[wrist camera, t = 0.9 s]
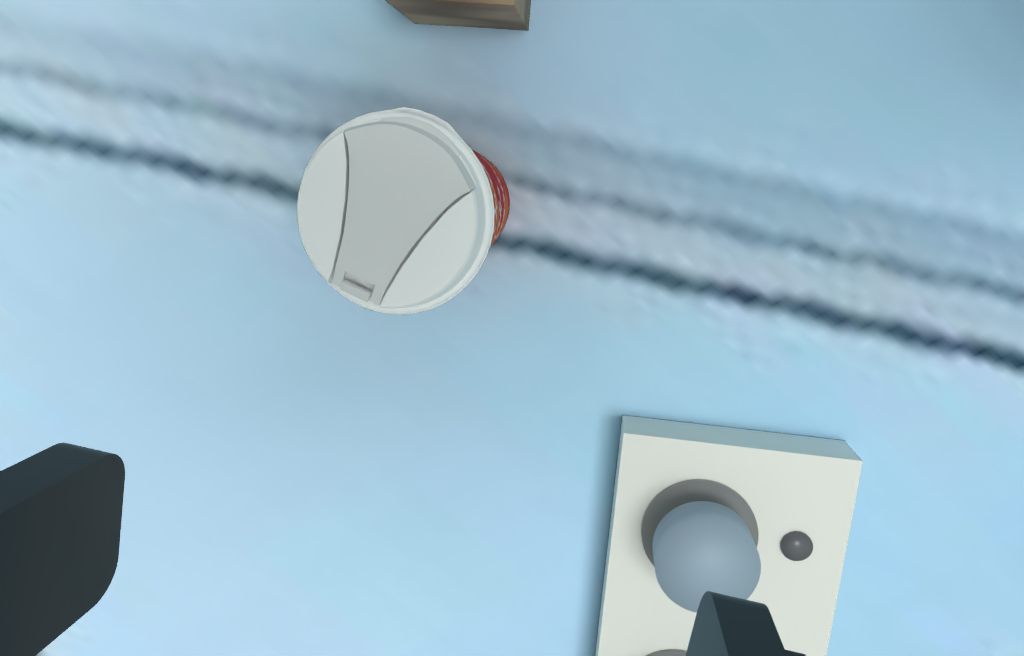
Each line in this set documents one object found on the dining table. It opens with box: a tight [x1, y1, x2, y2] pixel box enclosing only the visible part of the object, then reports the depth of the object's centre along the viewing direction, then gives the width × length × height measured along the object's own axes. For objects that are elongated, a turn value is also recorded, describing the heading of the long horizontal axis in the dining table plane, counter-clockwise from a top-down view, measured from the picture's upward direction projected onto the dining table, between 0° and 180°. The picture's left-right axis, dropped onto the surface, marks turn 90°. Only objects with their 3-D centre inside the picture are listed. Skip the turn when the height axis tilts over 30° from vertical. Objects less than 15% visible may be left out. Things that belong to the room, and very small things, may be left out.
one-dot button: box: [652, 501, 761, 613], centre depth 37 cm, size 5×5×2 cm
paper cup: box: [297, 107, 510, 314], centre depth 34 cm, size 8×8×14 cm
